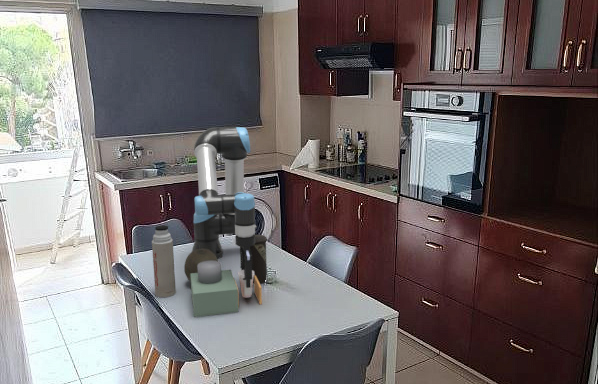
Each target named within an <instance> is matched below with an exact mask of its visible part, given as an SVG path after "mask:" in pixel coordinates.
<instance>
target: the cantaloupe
mask: <svg viewBox="0 0 598 384" xmlns="http://www.w3.org/2000/svg"><path fill="white" fill-rule="evenodd" d="M210 260H213V261H219V260H218V259H217V257H216V256H215V255H214V254H213V253H212V252H211V251H210V250H208V249H197V250H194V251H192V250H191V252H190V253H189V254H188V255H187V257H186V259H185V262H184V266H183V268H184V274H185V276H186V277H185V278H187V280H188V281H189V282H190V283H191V275H190V273H198V267H197V265H198V264H199V263H200V262H203V261H210Z"/></svg>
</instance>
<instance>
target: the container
mask: <svg viewBox="0 0 598 384" xmlns="http://www.w3.org/2000/svg"><path fill="white" fill-rule="evenodd" d="M254 235H255V244H254V245H253V246H250V250H251V251H252V254H251V255H252V270H253V271H254V274H255V275H254V276H256V277H257V279H258V281H259V283H260V285H261V284H262V285H263V284H264V283H266V282H265V280H266V275H267V276H268V268H267V267H268V266H267V264H268V263H267V241H268V238H267V237H266V235H263V234H254ZM253 285H254V277H253Z"/></svg>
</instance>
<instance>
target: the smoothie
mask: <svg viewBox="0 0 598 384" xmlns="http://www.w3.org/2000/svg"><path fill="white" fill-rule="evenodd" d="M237 275H238V277H239V284H240V291H241V296H242V297H243V298H250V297H252V295H244V280H243V278H245V275H244V270H241V269H240V270H239V271H238V272H237ZM254 275H255V274H254V271H253V270H252V279H251V286H252V287H254V284H253V277H254Z"/></svg>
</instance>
